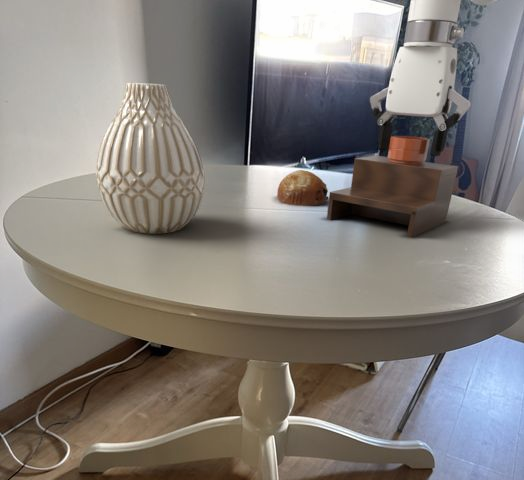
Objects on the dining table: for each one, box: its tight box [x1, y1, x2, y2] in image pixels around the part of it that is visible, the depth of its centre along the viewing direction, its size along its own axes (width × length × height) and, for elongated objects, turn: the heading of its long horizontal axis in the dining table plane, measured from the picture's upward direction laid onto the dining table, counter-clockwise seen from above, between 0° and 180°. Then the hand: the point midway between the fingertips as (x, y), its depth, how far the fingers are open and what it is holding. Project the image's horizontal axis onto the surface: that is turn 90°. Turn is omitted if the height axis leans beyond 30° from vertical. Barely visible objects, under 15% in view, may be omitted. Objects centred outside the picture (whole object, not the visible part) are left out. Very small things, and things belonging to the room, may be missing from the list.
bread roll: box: [276, 169, 329, 207], centre depth 98 cm, size 10×10×8 cm
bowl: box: [387, 135, 431, 165], centre depth 84 cm, size 7×7×4 cm
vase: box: [95, 82, 206, 235], centre depth 71 cm, size 16×16×20 cm
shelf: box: [326, 155, 459, 239], centre depth 85 cm, size 16×16×10 cm
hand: (408, 152), depth 84 cm, fingers open, 9 cm apart
